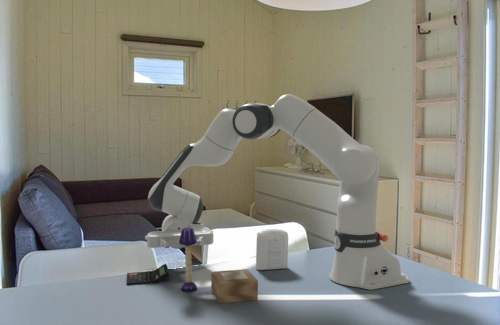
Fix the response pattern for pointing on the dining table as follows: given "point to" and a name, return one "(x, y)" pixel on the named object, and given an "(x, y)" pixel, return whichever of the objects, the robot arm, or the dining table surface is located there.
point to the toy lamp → (188, 257)
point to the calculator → (148, 276)
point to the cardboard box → (234, 286)
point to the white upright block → (272, 249)
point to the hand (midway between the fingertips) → (183, 244)
